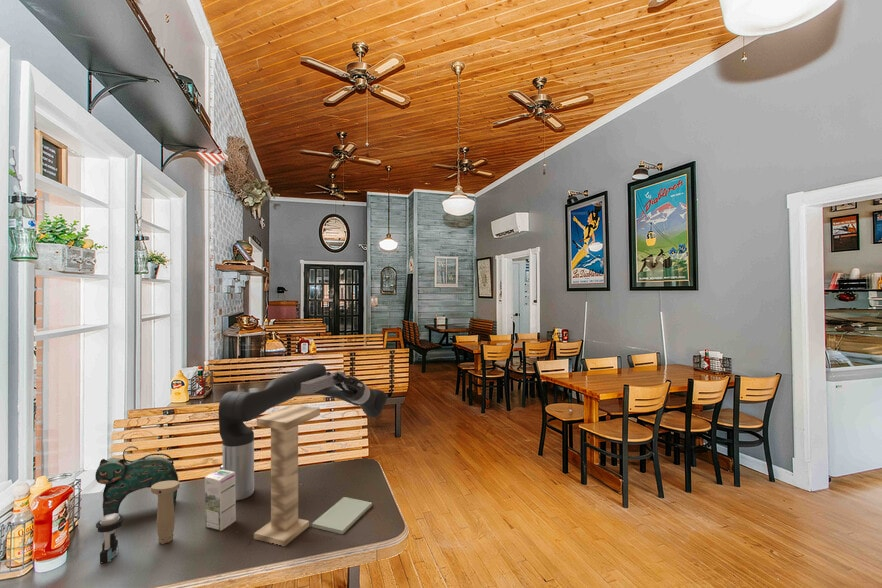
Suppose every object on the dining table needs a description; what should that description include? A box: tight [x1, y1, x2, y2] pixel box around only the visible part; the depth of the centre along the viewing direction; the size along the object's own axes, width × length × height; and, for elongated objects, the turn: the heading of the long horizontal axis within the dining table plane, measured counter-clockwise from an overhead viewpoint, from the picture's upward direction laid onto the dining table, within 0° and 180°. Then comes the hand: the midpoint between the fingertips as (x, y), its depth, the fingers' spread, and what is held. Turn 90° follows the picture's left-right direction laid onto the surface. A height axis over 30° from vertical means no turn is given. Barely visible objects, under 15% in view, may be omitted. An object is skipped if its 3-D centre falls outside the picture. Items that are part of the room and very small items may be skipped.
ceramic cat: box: [94, 445, 179, 517], centre depth 126 cm, size 20×6×20 cm, turn 123°
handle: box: [150, 480, 181, 545], centre depth 111 cm, size 5×6×15 cm
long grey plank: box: [300, 371, 346, 395], centre depth 132 cm, size 3×19×3 cm, turn 160°
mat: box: [311, 496, 373, 535], centre depth 123 cm, size 10×16×1 cm, turn 160°
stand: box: [253, 404, 321, 548], centre depth 117 cm, size 10×15×32 cm, turn 160°
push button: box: [95, 513, 124, 564], centre depth 105 cm, size 7×5×10 cm
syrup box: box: [204, 468, 237, 531], centre depth 119 cm, size 6×6×14 cm
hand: (331, 375), depth 136 cm, fingers closed on long grey plank, 3 cm apart
